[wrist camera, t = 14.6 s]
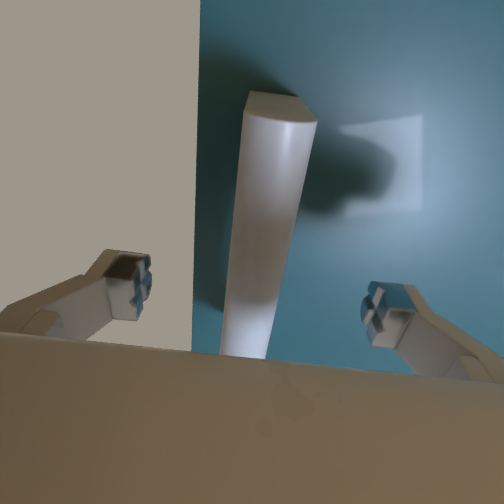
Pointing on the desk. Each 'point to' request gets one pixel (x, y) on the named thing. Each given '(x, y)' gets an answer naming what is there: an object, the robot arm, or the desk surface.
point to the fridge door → (346, 173)
